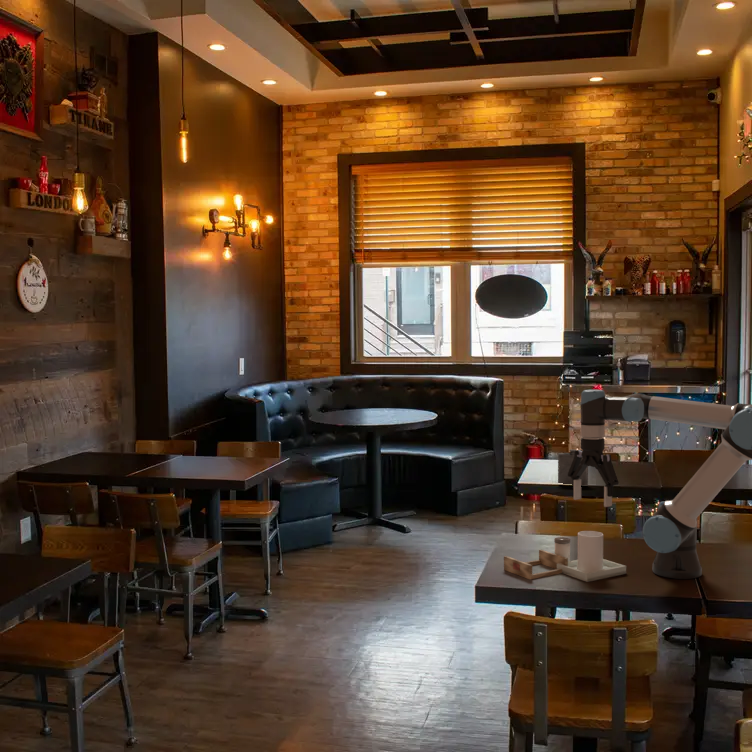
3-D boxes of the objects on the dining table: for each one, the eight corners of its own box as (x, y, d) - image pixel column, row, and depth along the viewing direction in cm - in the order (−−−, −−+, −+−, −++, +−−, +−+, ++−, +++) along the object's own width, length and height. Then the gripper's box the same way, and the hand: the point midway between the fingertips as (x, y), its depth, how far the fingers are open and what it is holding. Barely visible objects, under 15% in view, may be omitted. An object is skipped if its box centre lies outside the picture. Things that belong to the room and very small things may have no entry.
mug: (579, 562, 300) (580, 527, 299) (606, 565, 297) (606, 529, 296) (574, 572, 289) (575, 535, 288) (602, 574, 286) (602, 537, 285)
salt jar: (573, 566, 299) (573, 539, 299) (561, 568, 297) (561, 541, 296) (562, 562, 304) (562, 536, 303) (551, 564, 301) (551, 538, 301)
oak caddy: (567, 571, 293) (567, 558, 293) (529, 579, 285) (529, 565, 285) (541, 562, 304) (541, 549, 304) (503, 569, 296) (503, 556, 296)
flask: (588, 487, 437) (588, 450, 435) (557, 486, 440) (558, 449, 438) (587, 485, 440) (588, 449, 439) (557, 485, 443) (558, 448, 442)
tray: (626, 573, 291) (626, 566, 290) (587, 581, 282) (587, 574, 282) (595, 563, 303) (595, 556, 302) (556, 571, 294) (556, 563, 294)
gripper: (630, 440, 281) (629, 507, 283) (573, 432, 302) (573, 495, 304) (613, 442, 277) (612, 510, 279) (557, 434, 299) (556, 497, 300)
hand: (592, 502), depth 291 cm, fingers open, 13 cm apart
